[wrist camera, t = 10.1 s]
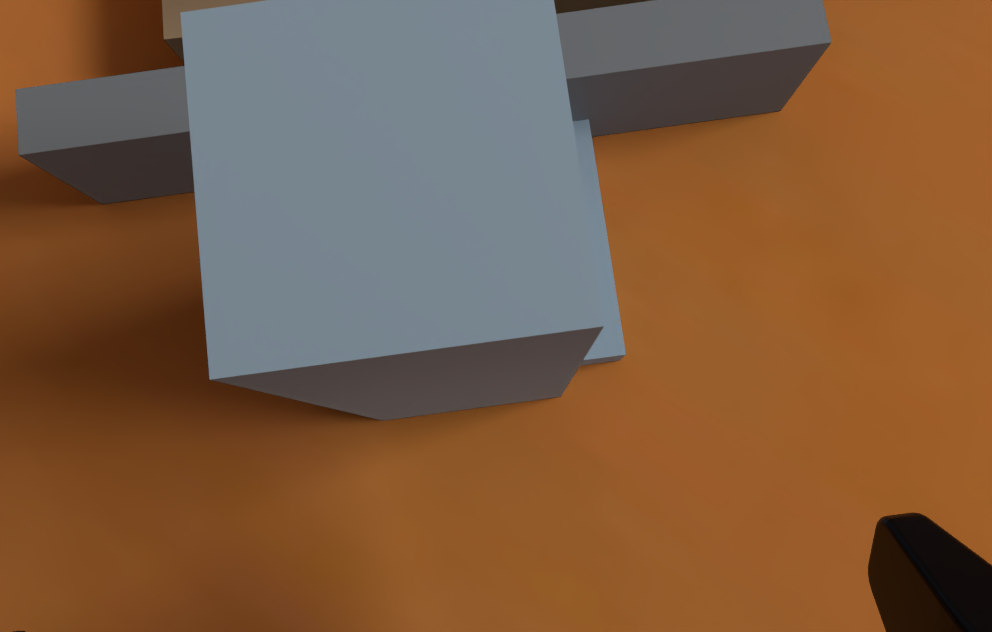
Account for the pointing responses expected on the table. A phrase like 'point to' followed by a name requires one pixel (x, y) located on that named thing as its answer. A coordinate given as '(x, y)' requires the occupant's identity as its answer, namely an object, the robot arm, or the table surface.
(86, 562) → the table surface
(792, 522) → the table surface
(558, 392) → the scraper
